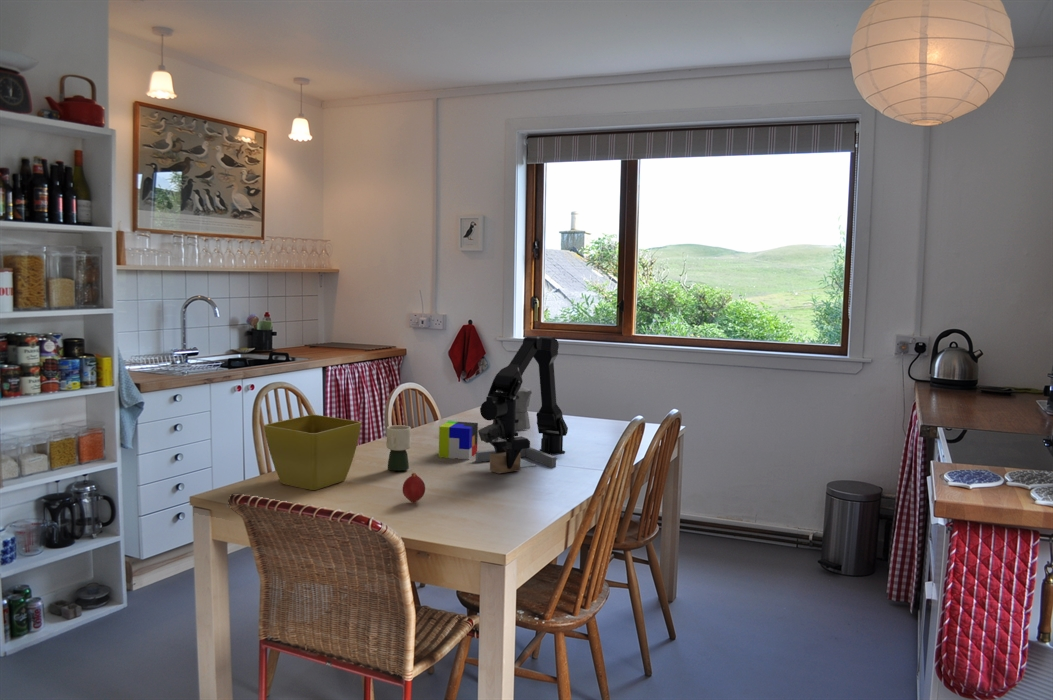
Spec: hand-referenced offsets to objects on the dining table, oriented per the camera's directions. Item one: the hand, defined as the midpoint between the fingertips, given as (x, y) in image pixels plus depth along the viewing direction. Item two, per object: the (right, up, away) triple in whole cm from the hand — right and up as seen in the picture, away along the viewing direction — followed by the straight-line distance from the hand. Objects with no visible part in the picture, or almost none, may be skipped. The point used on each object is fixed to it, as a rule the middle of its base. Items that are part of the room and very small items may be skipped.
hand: (505, 466), depth 234 cm
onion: (-23, -4, -34) cm, 41 cm away
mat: (+4, -1, +10) cm, 11 cm away
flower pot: (-53, -2, -17) cm, 56 cm away
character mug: (-32, -1, -2) cm, 32 cm away
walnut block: (0, -1, 0) cm, 1 cm away
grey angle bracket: (+3, -1, +10) cm, 10 cm away
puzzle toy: (-16, +1, +20) cm, 25 cm away
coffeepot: (+2, +5, +66) cm, 66 cm away
